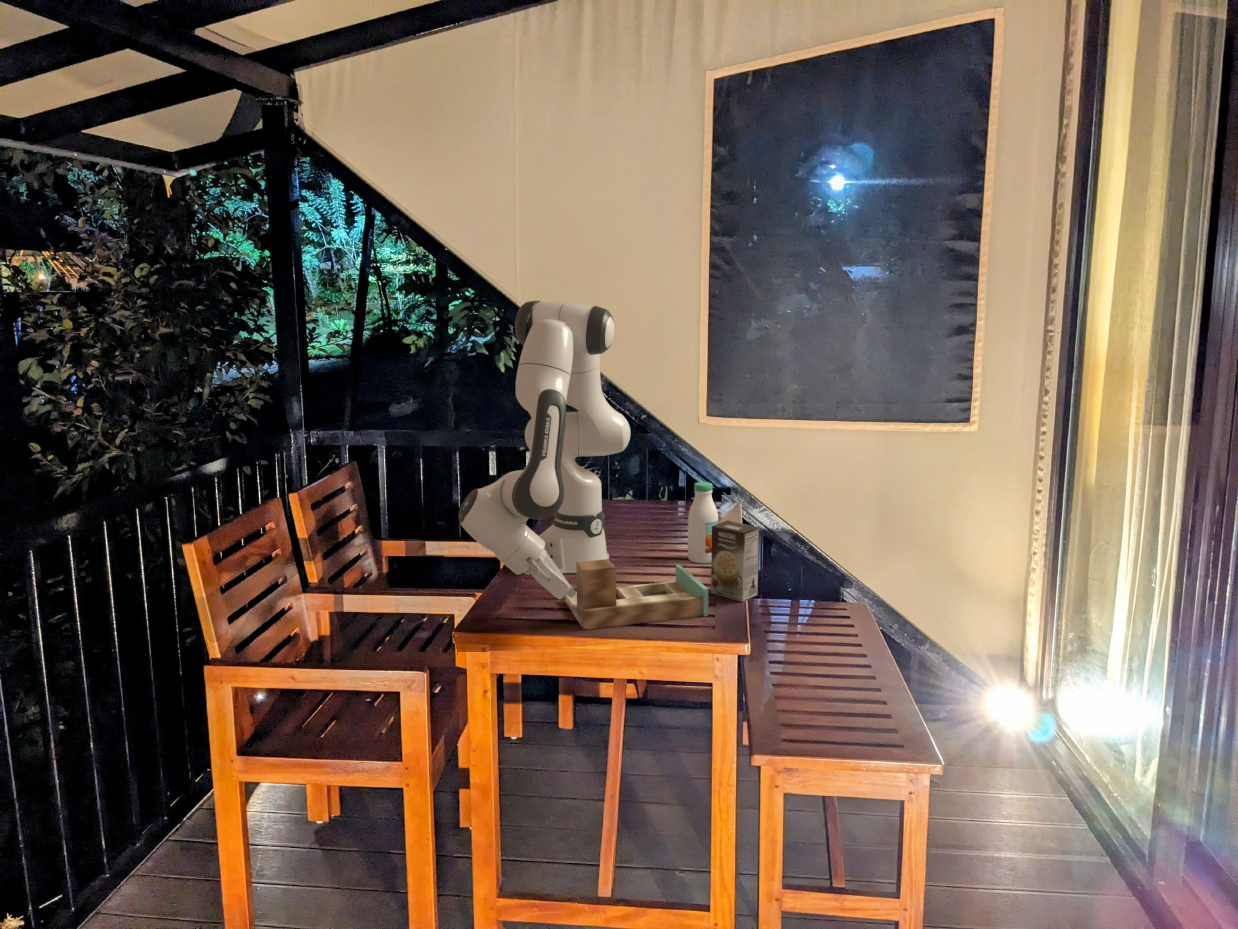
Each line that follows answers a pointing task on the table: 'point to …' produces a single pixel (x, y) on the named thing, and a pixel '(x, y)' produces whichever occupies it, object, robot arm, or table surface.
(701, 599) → the board
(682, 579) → the end stop
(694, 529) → the milk bottle
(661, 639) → the table surface
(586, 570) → the walnut block
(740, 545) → the coffee box
